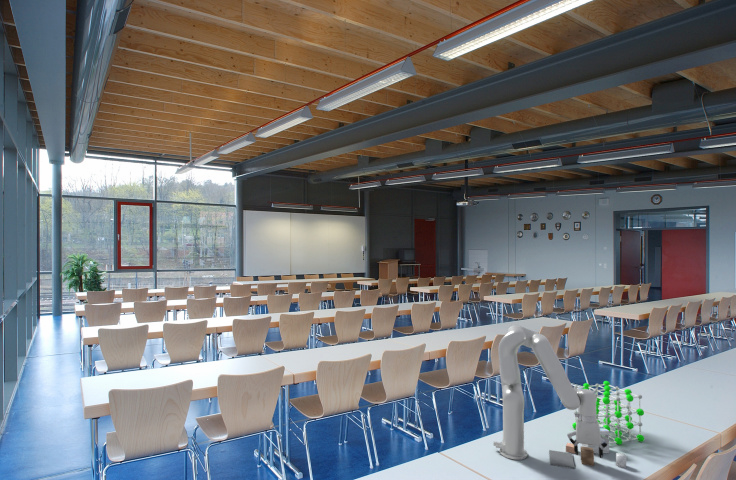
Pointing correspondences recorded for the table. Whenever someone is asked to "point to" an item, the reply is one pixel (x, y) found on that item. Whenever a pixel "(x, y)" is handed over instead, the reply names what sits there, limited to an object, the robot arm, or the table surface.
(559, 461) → the mat
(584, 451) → the walnut block
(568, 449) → the peach cube
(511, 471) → the table surface
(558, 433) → the table surface
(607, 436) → the light bulb box
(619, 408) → the molecular structure model
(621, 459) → the grey plastic cylinder
